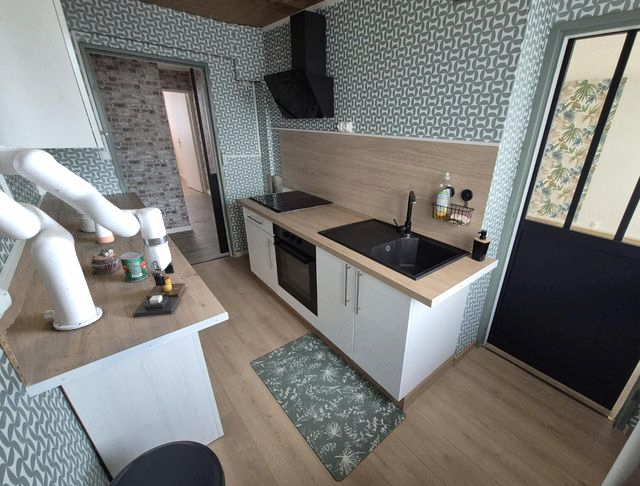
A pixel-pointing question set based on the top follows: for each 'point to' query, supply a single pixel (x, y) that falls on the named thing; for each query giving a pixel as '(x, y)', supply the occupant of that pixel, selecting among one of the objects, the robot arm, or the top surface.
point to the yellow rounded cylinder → (168, 285)
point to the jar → (85, 223)
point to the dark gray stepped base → (157, 307)
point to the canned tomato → (134, 266)
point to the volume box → (174, 292)
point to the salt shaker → (103, 234)
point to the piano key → (155, 299)
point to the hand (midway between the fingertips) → (165, 279)
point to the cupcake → (104, 261)
